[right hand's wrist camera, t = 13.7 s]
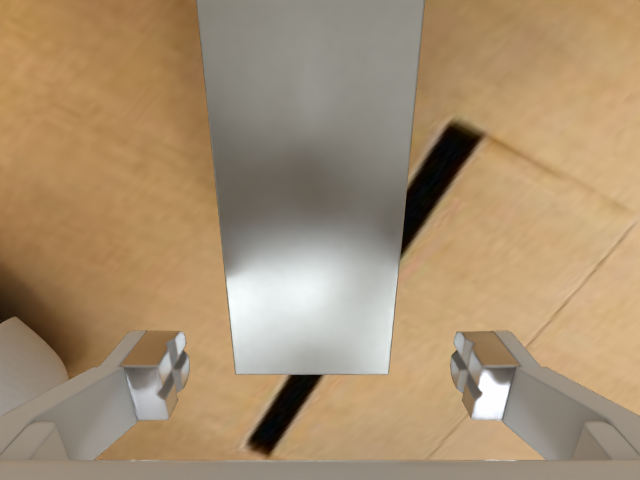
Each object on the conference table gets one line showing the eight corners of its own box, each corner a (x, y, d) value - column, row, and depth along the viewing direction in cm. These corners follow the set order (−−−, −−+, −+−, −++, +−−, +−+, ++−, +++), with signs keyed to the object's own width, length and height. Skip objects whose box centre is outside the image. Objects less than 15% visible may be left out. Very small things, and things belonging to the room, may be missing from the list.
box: (359, 261, 25) (389, 375, 15) (269, 261, 25) (234, 375, 15) (387, -278, 16) (527, -1047, 5) (241, -279, 16) (83, -1059, 5)
